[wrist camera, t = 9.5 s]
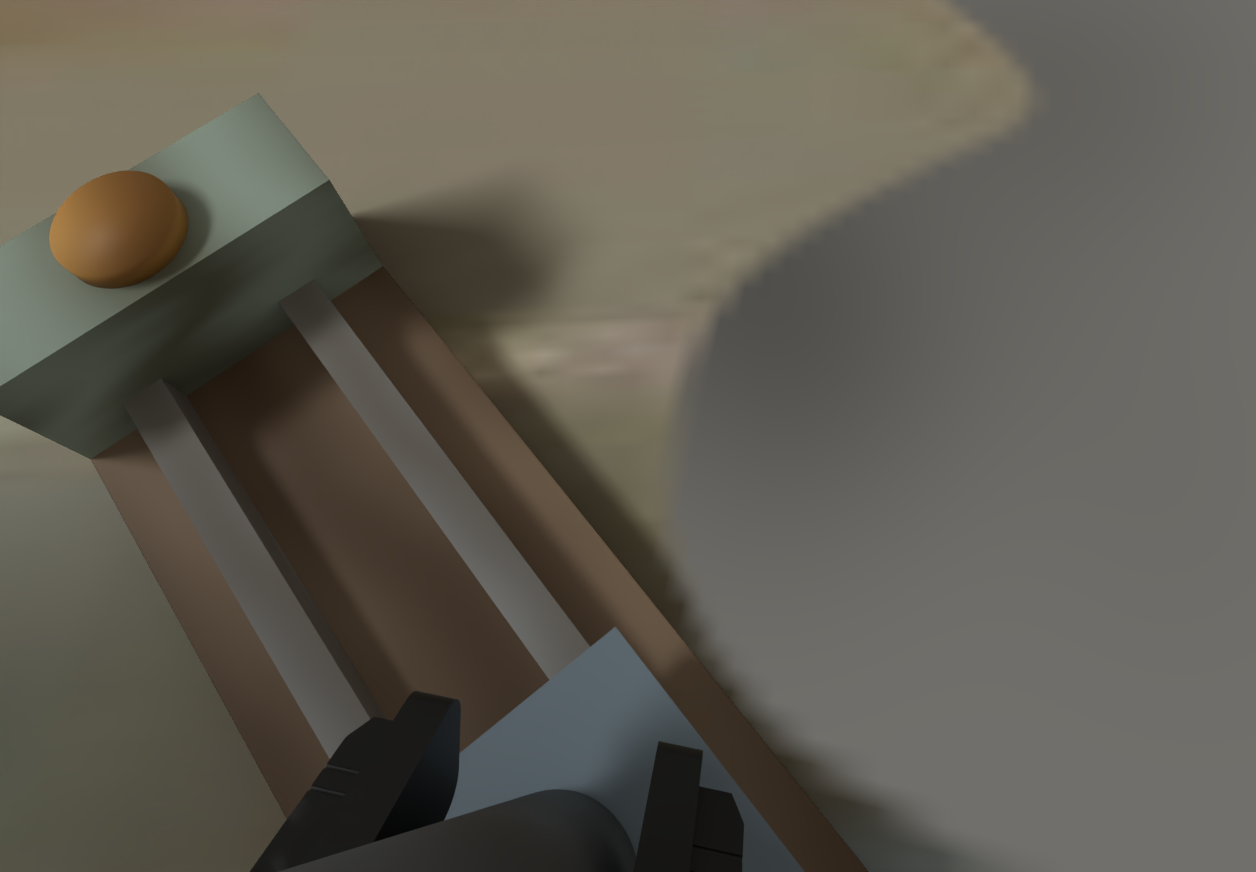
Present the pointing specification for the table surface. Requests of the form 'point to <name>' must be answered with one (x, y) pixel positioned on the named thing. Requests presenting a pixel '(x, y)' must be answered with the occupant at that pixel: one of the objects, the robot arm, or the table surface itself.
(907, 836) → the table surface
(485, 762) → the carriage
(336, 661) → the rail track
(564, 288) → the table surface
